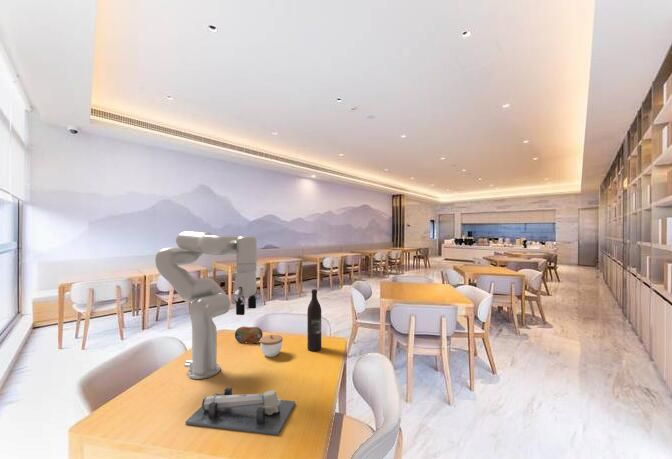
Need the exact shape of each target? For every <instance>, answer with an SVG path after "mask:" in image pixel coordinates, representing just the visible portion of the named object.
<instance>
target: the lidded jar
mask: <svg viewBox="0 0 672 459" xmlns="http://www.w3.org/2000/svg"><path fill="white" fill-rule="evenodd" d="M259 342H260V351H261V353H262V354H263V355H264V356H265V357H266V358H275V357H276V356H278V355H279V353H280V352H281V350H282V348H283V336H282V335H279V334H267V335H264V336H262V338H261V339H260V341H259Z"/></svg>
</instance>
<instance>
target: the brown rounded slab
mask: <svg viewBox="0 0 672 459" xmlns="http://www.w3.org/2000/svg"><path fill="white" fill-rule="evenodd" d="M263 334H264V333H263V331H262V329H261V328H260V327H258V326H240V327H238V328H237V329H236V330H235V332H234V338H235V341H237V342H238V343H239V342H247V343H246V344H250V343H256V344H258V343H259V342H260V339H261V338H262V337H264V336H263Z"/></svg>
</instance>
